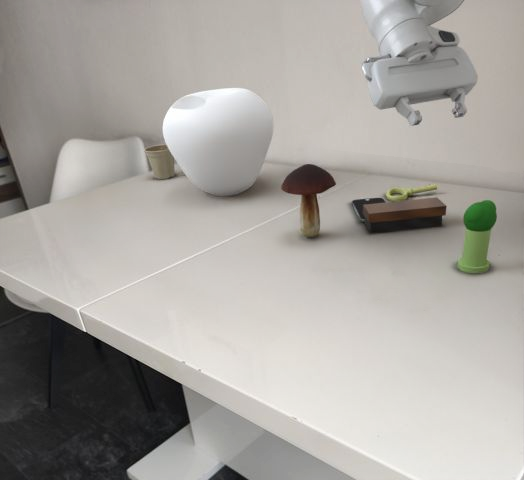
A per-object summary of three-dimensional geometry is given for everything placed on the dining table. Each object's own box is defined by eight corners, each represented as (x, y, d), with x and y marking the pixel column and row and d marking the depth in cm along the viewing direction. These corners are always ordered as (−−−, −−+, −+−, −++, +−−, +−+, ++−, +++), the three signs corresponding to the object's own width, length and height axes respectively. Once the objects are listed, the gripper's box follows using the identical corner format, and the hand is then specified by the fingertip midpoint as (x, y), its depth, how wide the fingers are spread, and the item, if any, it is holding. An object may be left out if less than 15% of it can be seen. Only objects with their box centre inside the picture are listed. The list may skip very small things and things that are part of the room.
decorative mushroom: (307, 250, 108) (304, 175, 100) (274, 237, 115) (268, 166, 107) (347, 235, 113) (347, 162, 105) (312, 223, 121) (310, 154, 112)
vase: (226, 172, 164) (216, 83, 151) (296, 183, 148) (291, 84, 135) (155, 198, 147) (136, 100, 134) (225, 213, 131) (211, 104, 118)
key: (439, 193, 131) (440, 184, 129) (395, 203, 128) (395, 194, 126) (422, 186, 136) (422, 178, 135) (379, 195, 133) (379, 187, 132)
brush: (435, 217, 118) (437, 197, 115) (444, 226, 113) (446, 205, 110) (362, 224, 118) (362, 204, 115) (368, 234, 112) (369, 213, 110)
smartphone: (382, 197, 130) (396, 217, 117) (382, 200, 130) (396, 220, 117) (350, 199, 130) (361, 220, 117) (350, 202, 130) (361, 223, 118)
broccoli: (482, 259, 97) (492, 196, 91) (494, 271, 93) (505, 205, 87) (452, 262, 97) (459, 199, 91) (462, 274, 93) (471, 209, 87)
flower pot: (146, 176, 168) (140, 147, 164) (174, 170, 171) (170, 142, 167) (154, 183, 161) (148, 153, 156) (183, 177, 164) (179, 147, 159)
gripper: (365, 44, 89) (397, 115, 87) (464, 32, 95) (497, 98, 93) (351, 73, 95) (380, 140, 93) (445, 59, 101) (475, 122, 99)
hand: (439, 119), depth 93 cm, fingers open, 8 cm apart
